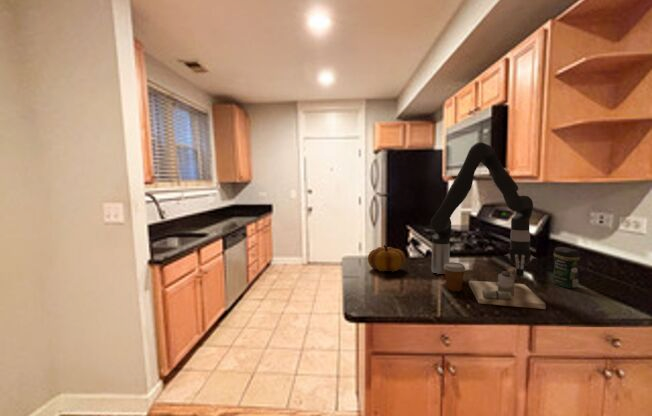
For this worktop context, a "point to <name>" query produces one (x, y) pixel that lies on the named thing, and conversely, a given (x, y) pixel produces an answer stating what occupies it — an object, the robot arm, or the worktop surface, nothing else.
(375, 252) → the decorative pumpkin
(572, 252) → the coffee jar
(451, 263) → the disposable coffee cup
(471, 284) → the level stand
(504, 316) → the worktop surface
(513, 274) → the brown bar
